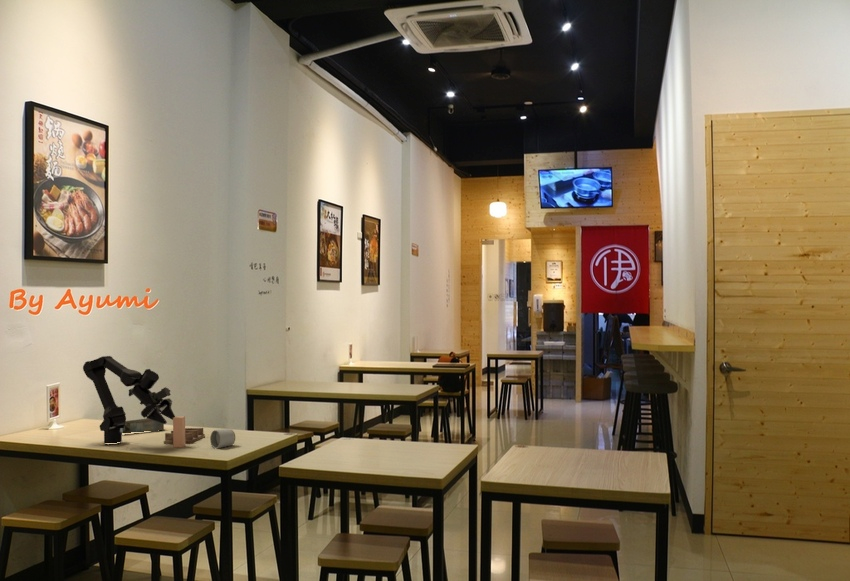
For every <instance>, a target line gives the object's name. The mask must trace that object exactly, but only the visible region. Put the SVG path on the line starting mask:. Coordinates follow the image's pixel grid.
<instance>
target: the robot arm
mask: <svg viewBox="0 0 850 581" xmlns="http://www.w3.org/2000/svg"><path fill="white" fill-rule="evenodd" d="M107 370H109V371H110V372H111V373H113V375H116V376H117V377H119V379H120V382H121V383H122V384H123V385H124V386H125V387H132V388H130V389H128V397H131V396H135V397H136V398H137V399H138V400H139V401H140V402H139V404H140V405H143V406H145V407H144V408H143V409H142V410H141V411H140V415H141V417H143V419H146V418H147V419H151V420H155V421H157V422H160V423H163V424H164V425H166V424H167V422H168V421H167V420H166V419H165V417H166V418H168V419H171V420H172V421H173V418H174V417H176V415H175V413H174V411H173V409H172V405H173V400H172V399H171V398H170V397H169V396H172V395H171V389H169V388H168V387H167V386H166V387H163V388H161V390H160V391H158V392H155V391H153V392H152V391H151V389H152V388H153V387H154V385H155V384H156V383H157V382H158V381H159V379H160V377H159V374H158V373H157V372H155V371H153V370H151V369H150V368H147V369H145V370H144V371H143V373H141V372H140V371H137V370H135V369H130V368H127V367H126V366H125V365H123V364H122V363H121V362H118V361H117V359H116V360H115V359H114V358H113V356H112V355H103V356H101V357H100V356H99V357H98V358H96V359H93V360H88V361H85V362H84V364H83V366H82V371H83V372H84V375H86V377H87V378H88V379H89V380H90V381H92V382H93V386H94V387H95V390H96V392H97V395H98V397H99V399H100V403H101V405H102V407H103V415H102V418H103V421H102V422H101V423H100V425H99V429H100V431H101V432H103V444H104V443H117V442H120V443H122V442H123V435H122V432H120V428H124V425H125V421H127V416H126V413H125V411H124V407H123V406H118V405H117V404H116V402H115V400H114V397H113V394H112V392H111V389H110V387H109V384H108V382H107V380H106V377H105V376H106V371H107ZM167 397H169V398H167Z"/></svg>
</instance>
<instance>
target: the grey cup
mask: <svg viewBox="0 0 850 581" xmlns="http://www.w3.org/2000/svg"><path fill="white" fill-rule="evenodd" d="M209 438H210V446H212V447H213V449H215V448H216V449H221V448H227V446H228V447H231V446H233V445H234V444H235V441H236V434H235V431H234V430H233V429H231V428H224V429H214V430H213V431H212V432H211V434H210V437H209Z"/></svg>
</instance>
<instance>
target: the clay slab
mask: <svg viewBox="0 0 850 581" xmlns="http://www.w3.org/2000/svg"><path fill="white" fill-rule="evenodd" d="M185 428H186V416H183V415H182V416H175V417H174V418H173V420H172V431H173V444H172V445H173V448H184V447H186V444H185Z"/></svg>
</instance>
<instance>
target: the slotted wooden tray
mask: <svg viewBox="0 0 850 581" xmlns="http://www.w3.org/2000/svg"><path fill="white" fill-rule="evenodd" d="M205 435H206V434H205V433H204V427H185V445H186V444H187V445H188V444H189V445H190V444H193V443H195V442H197V441H199V440H200V439H203V438H205V437H206V436H205ZM163 445H173V430H171V431H170V432H166V433H164V440H163Z"/></svg>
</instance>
